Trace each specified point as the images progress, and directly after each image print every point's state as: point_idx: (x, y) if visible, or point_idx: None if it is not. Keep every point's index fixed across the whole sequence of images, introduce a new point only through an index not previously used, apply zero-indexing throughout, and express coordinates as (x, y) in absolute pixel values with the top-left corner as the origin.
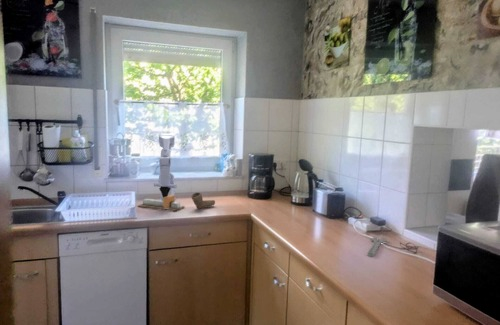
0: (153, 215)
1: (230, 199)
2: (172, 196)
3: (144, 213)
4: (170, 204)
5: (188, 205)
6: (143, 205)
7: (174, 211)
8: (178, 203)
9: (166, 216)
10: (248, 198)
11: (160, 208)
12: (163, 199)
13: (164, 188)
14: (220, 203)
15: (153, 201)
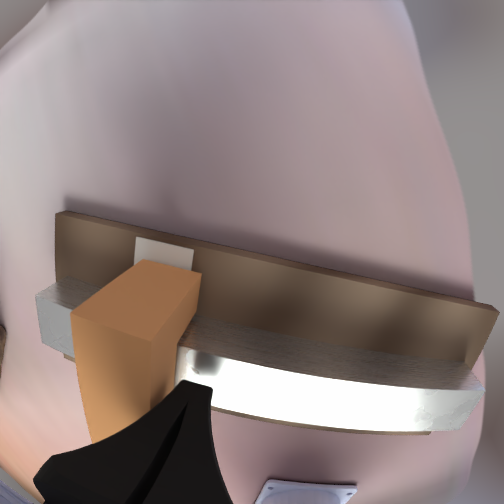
0: (219, 9)
1: (27, 472)
2: (88, 415)
3: (353, 55)
4: None
5: None
6: (457, 323)
7: (76, 213)
8: (40, 313)
9: (92, 33)
10: (2, 466)
11: (233, 252)
12: (161, 319)
13: (69, 496)
14: (6, 426)
15: (367, 378)
